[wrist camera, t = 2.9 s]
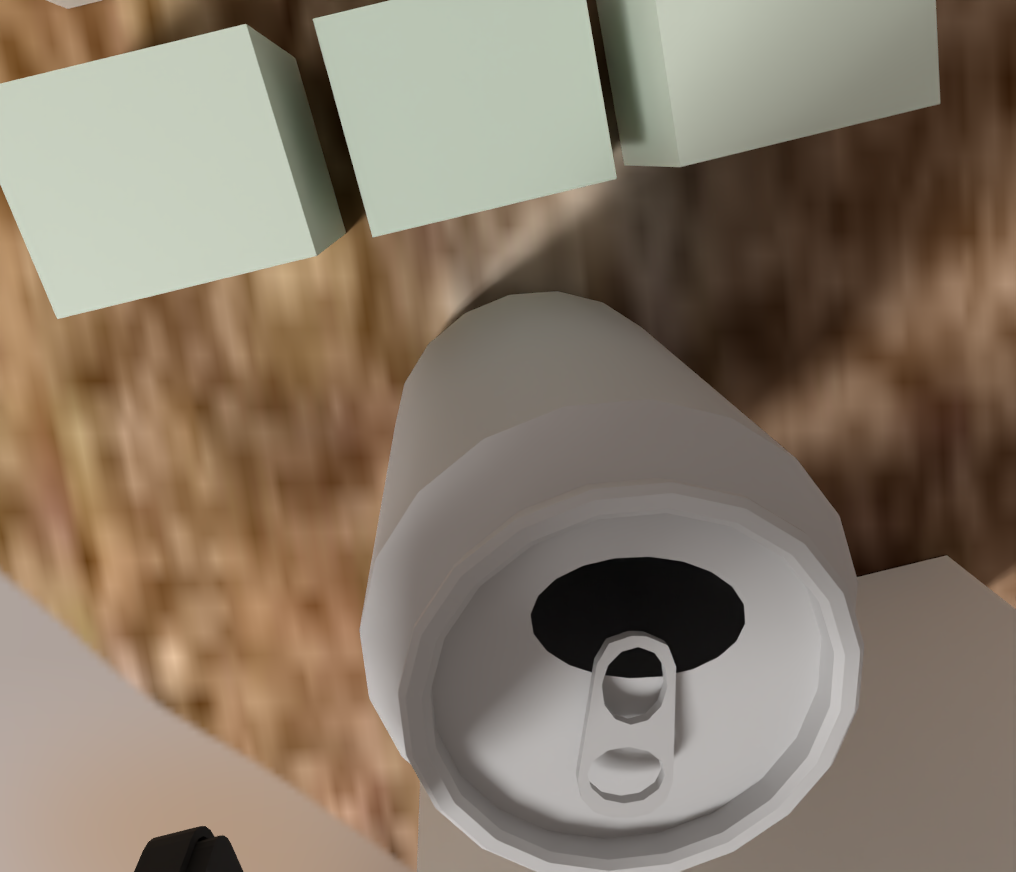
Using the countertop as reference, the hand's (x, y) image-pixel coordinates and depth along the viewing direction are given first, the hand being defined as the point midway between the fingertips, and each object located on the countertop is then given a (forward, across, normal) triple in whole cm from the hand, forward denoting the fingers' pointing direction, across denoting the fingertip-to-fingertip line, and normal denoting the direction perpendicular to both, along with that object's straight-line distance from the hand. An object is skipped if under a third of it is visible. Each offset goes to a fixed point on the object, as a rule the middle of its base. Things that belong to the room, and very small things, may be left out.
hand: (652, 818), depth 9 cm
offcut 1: (+14, +6, -8) cm, 17 cm away
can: (+14, 0, 0) cm, 14 cm away
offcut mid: (+14, 0, -8) cm, 16 cm away
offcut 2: (+13, -6, -8) cm, 17 cm away
